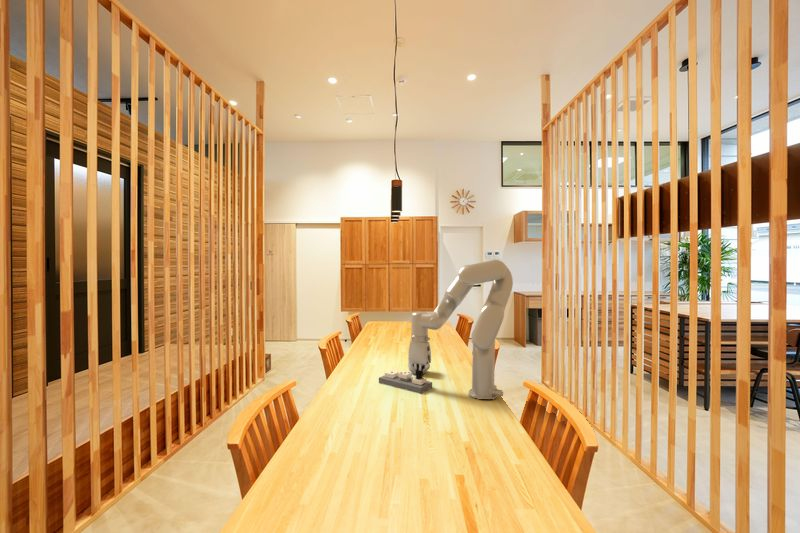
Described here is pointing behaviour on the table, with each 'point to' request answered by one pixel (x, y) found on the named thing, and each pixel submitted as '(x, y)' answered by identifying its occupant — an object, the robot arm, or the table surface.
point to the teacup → (411, 368)
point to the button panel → (405, 384)
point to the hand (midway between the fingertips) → (419, 378)
